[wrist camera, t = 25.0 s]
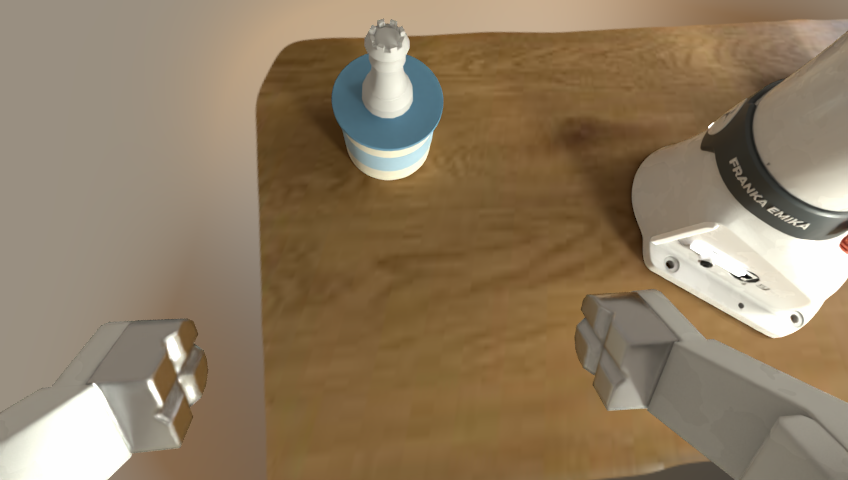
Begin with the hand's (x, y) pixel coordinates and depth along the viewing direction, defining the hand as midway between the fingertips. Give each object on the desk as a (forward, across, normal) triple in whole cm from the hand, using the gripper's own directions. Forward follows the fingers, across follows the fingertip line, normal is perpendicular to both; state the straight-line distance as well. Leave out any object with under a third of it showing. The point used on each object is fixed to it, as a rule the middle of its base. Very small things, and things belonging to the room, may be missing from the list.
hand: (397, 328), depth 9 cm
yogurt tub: (+38, -1, +8) cm, 39 cm away
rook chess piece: (+32, -1, +2) cm, 32 cm away
